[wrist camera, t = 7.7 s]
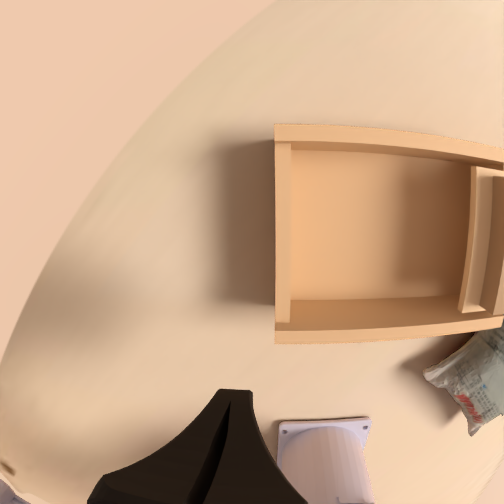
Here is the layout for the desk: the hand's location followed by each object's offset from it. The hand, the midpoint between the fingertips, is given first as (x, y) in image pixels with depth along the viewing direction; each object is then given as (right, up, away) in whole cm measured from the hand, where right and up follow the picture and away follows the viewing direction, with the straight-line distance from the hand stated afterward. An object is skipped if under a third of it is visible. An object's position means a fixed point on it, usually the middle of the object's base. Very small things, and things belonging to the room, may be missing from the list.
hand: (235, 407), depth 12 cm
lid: (+20, +7, +2) cm, 22 cm away
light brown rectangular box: (+10, +8, +8) cm, 15 cm away
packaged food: (+21, -4, +10) cm, 23 cm away
